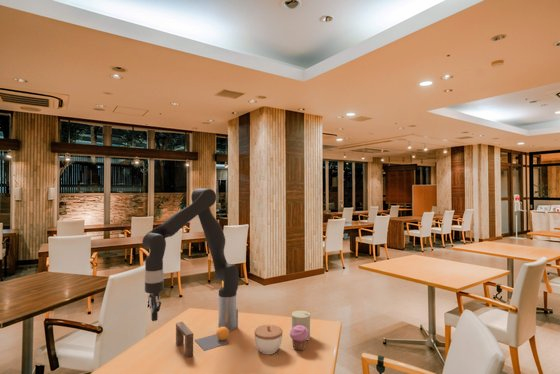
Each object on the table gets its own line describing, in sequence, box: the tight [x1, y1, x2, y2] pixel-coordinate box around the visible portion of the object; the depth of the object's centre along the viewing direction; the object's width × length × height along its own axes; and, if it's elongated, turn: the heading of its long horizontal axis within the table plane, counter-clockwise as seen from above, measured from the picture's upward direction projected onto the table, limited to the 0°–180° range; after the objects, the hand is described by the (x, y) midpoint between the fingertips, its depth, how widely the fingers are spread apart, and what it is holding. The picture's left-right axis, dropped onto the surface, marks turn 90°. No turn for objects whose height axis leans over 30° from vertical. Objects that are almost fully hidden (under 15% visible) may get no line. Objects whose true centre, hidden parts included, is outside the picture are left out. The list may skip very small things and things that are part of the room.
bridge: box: [175, 321, 194, 359], centre depth 146 cm, size 3×15×10 cm, turn 35°
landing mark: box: [194, 334, 229, 351], centre depth 154 cm, size 12×12×1 cm
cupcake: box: [289, 325, 309, 351], centre depth 148 cm, size 9×9×10 cm
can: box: [291, 310, 311, 340], centre depth 159 cm, size 9×9×12 cm
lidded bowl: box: [254, 324, 284, 355], centre depth 146 cm, size 13×13×11 cm
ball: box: [216, 327, 230, 340], centre depth 156 cm, size 6×6×6 cm
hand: (154, 320), depth 139 cm, fingers closed
